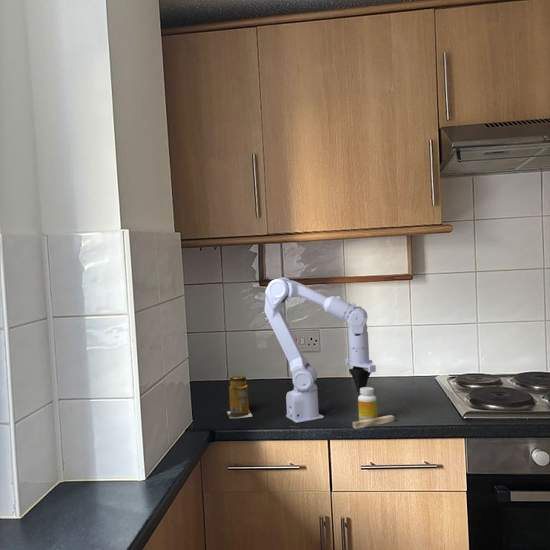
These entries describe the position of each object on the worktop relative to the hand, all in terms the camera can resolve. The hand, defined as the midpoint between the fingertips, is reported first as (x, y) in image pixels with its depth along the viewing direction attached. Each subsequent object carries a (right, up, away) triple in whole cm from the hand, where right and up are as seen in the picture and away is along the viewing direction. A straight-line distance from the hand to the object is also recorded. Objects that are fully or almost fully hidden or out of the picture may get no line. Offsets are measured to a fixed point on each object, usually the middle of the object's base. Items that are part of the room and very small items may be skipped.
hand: (361, 392), depth 173 cm
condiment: (-38, -10, +12) cm, 40 cm away
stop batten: (+3, -8, -7) cm, 11 cm away
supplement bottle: (+2, -8, -3) cm, 9 cm away
